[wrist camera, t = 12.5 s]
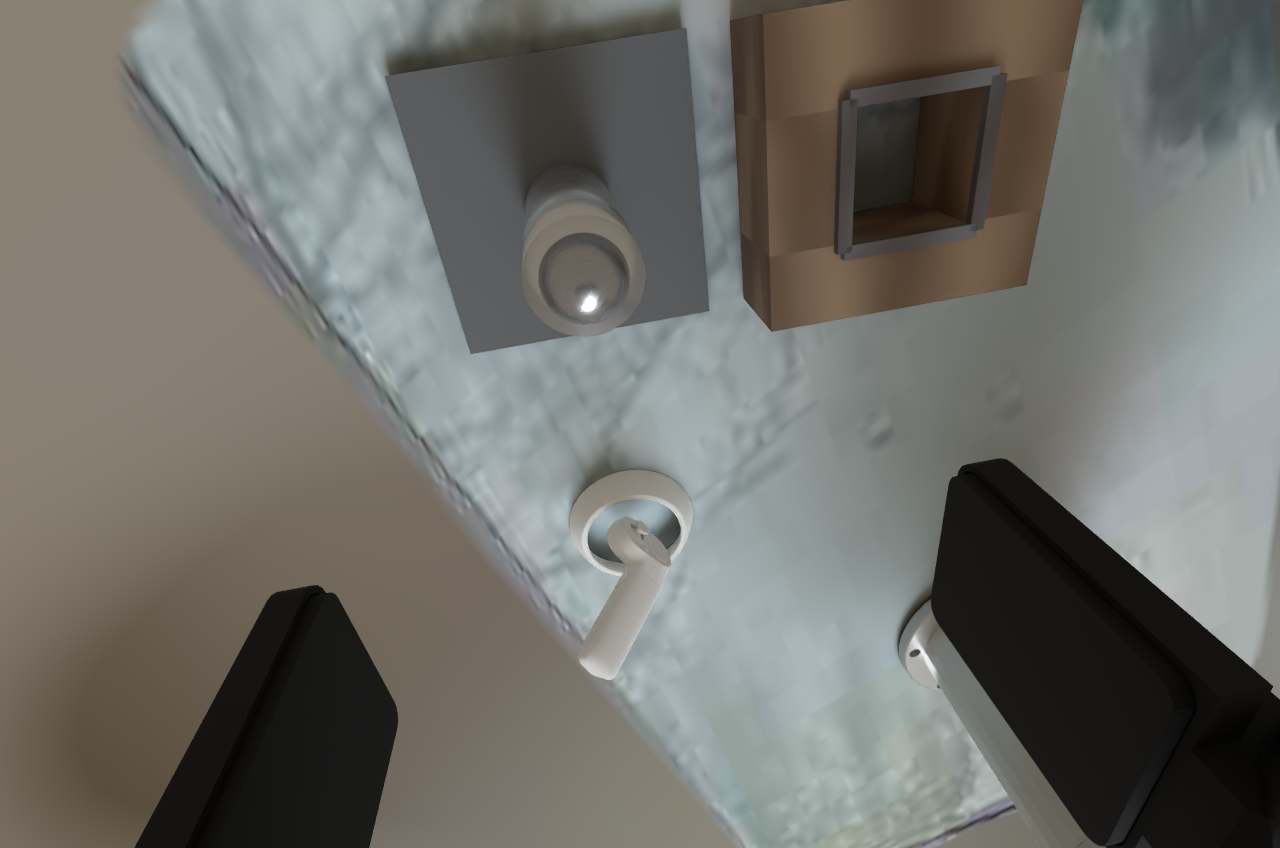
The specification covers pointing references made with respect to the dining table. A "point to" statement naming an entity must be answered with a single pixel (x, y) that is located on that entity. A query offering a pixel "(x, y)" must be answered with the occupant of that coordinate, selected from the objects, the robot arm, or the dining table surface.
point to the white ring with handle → (626, 561)
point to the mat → (544, 136)
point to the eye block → (945, 157)
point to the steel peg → (578, 253)
